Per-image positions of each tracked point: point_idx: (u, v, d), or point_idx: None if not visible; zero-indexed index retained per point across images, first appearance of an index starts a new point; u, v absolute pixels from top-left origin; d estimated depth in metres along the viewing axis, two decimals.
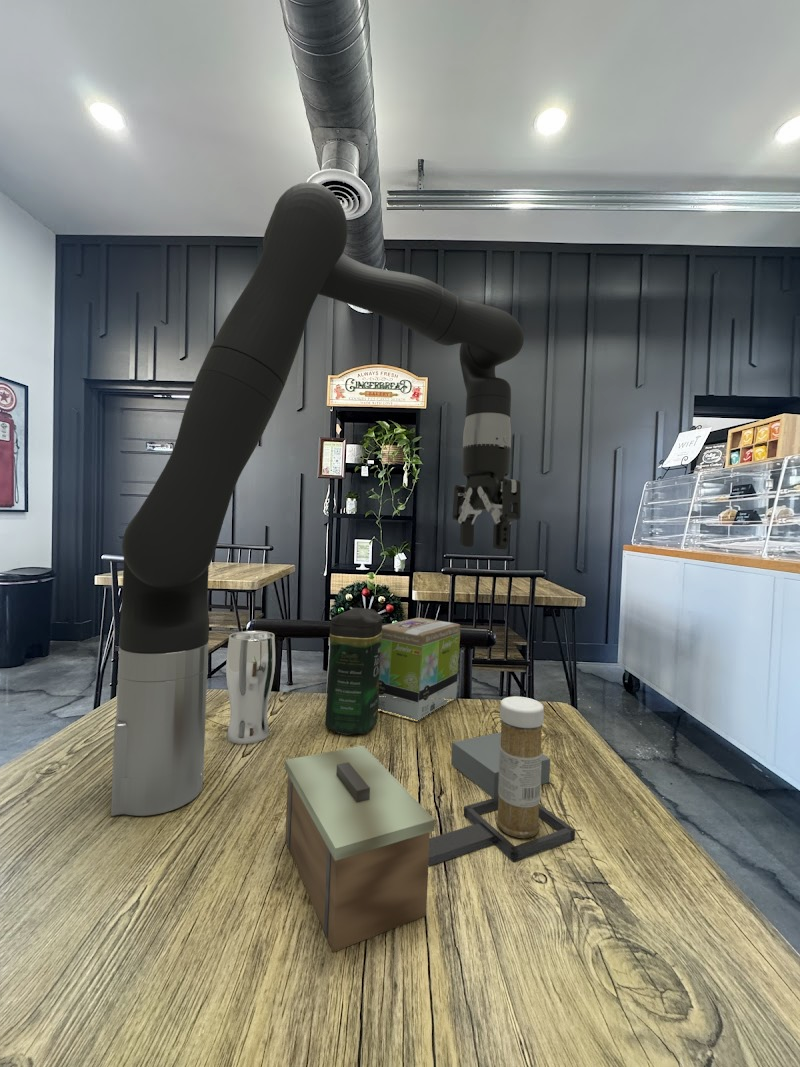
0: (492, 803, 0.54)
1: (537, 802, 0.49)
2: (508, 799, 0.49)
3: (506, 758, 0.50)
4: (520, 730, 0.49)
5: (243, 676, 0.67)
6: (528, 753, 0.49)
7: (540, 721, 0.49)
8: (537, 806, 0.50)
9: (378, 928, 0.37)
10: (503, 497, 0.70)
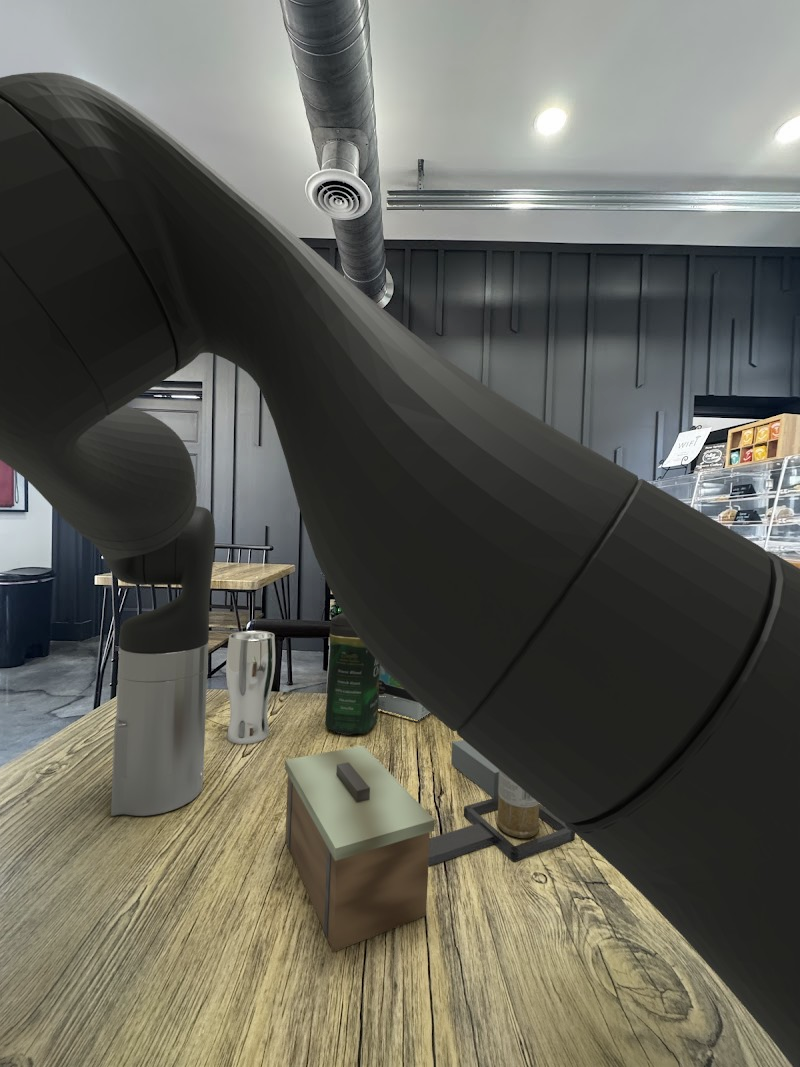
0: (492, 803, 0.54)
1: (537, 802, 0.49)
2: (508, 799, 0.49)
3: None
4: None
5: (243, 676, 0.67)
6: None
7: None
8: (537, 806, 0.50)
9: (378, 928, 0.37)
10: None
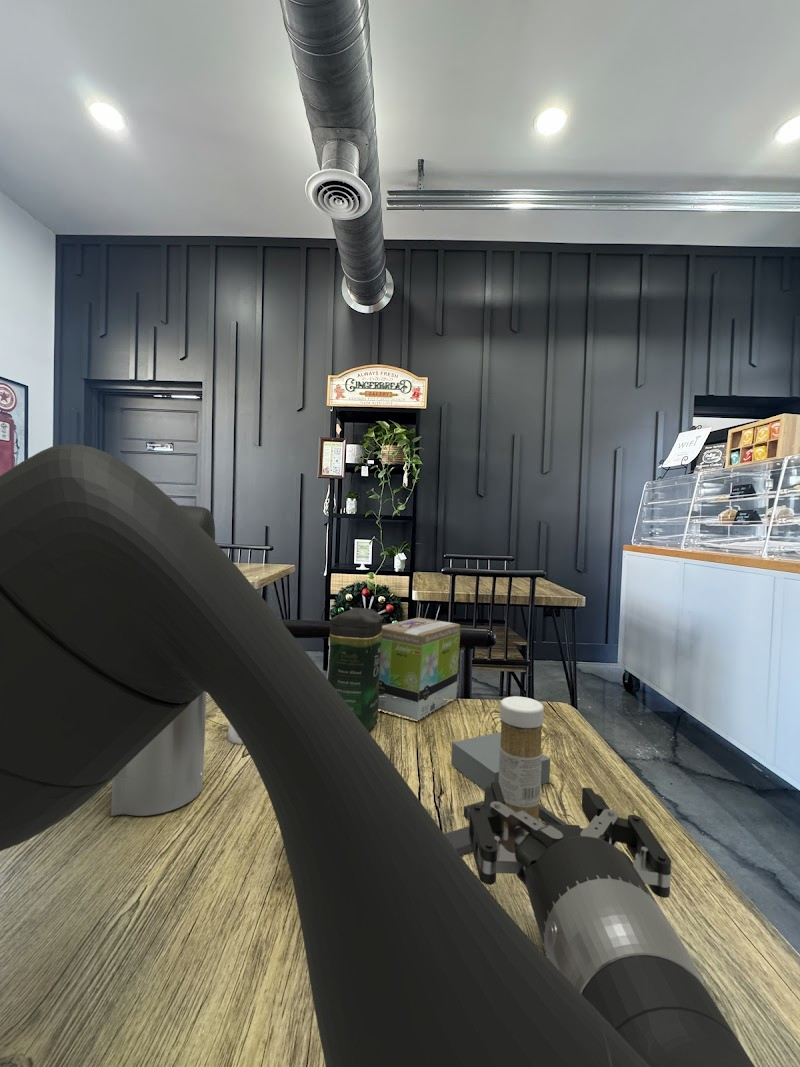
0: None
1: (537, 802, 0.49)
2: (508, 799, 0.49)
3: (506, 758, 0.50)
4: (520, 730, 0.49)
5: None
6: (528, 753, 0.49)
7: (540, 721, 0.49)
8: (537, 806, 0.50)
9: None
10: None
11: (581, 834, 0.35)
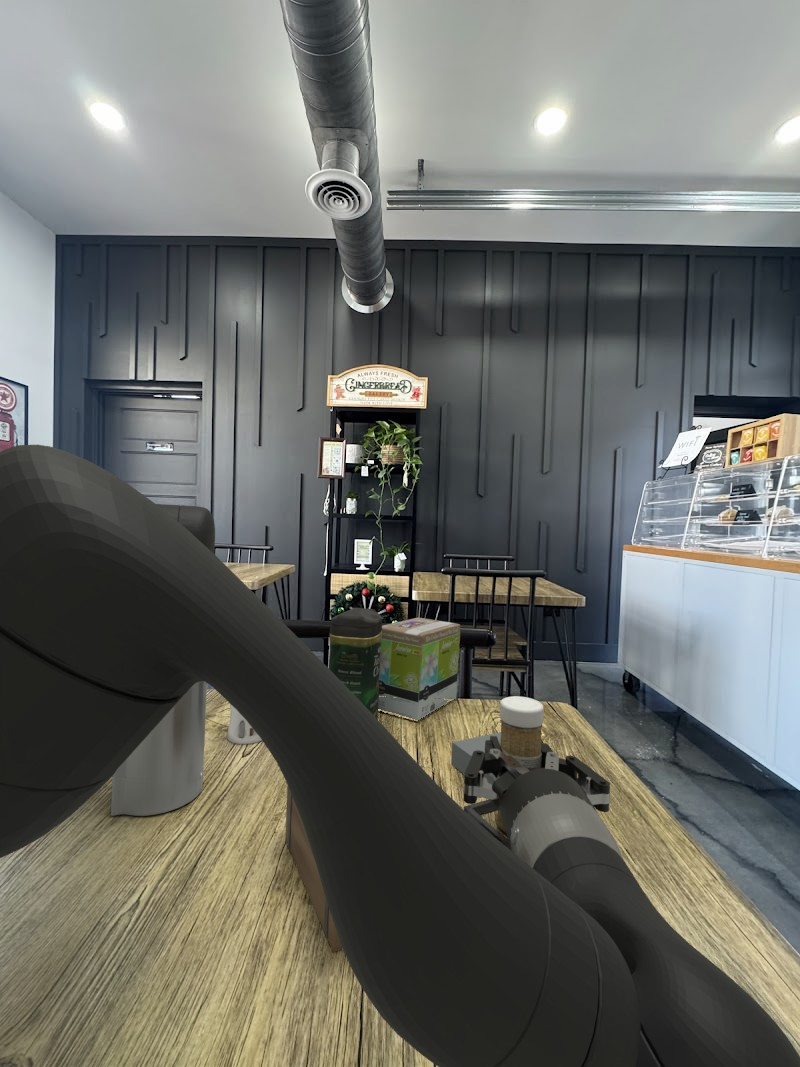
0: (492, 803, 0.54)
1: None
2: None
3: None
4: (520, 730, 0.49)
5: None
6: (528, 753, 0.49)
7: (540, 721, 0.49)
8: None
9: None
10: None
11: None
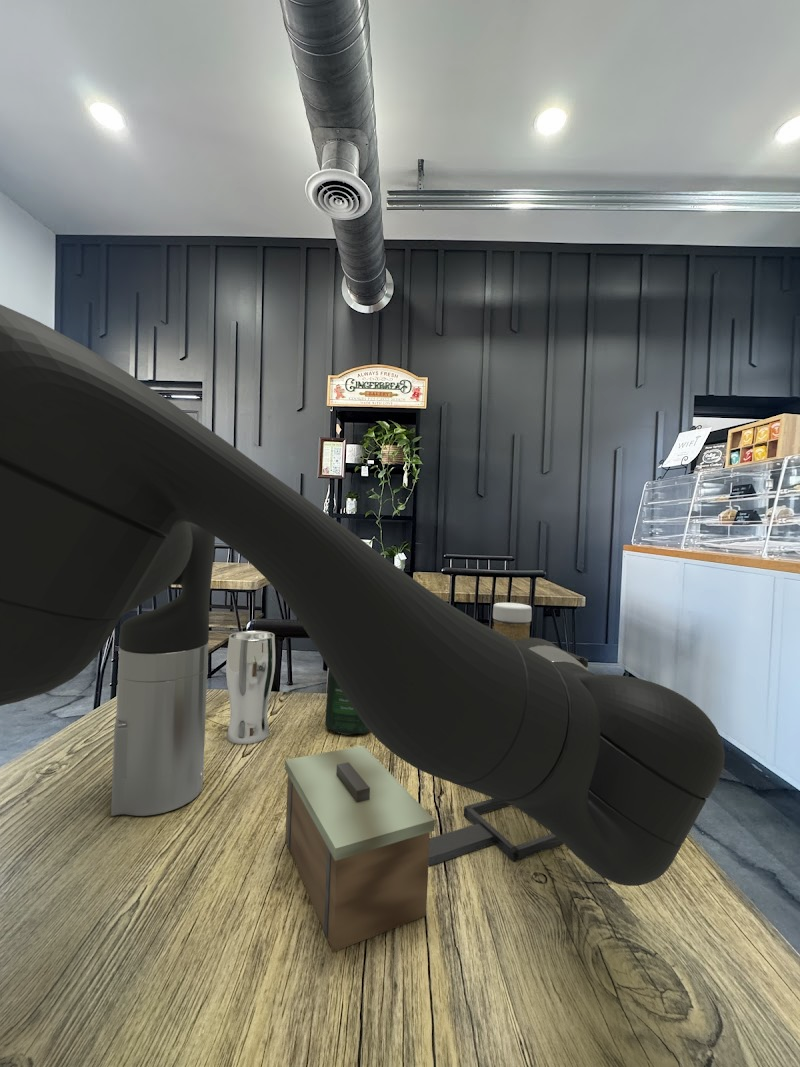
0: (492, 803, 0.54)
1: None
2: None
3: None
4: (511, 625, 0.55)
5: (243, 676, 0.67)
6: None
7: (528, 618, 0.56)
8: None
9: (378, 928, 0.37)
10: None
11: None
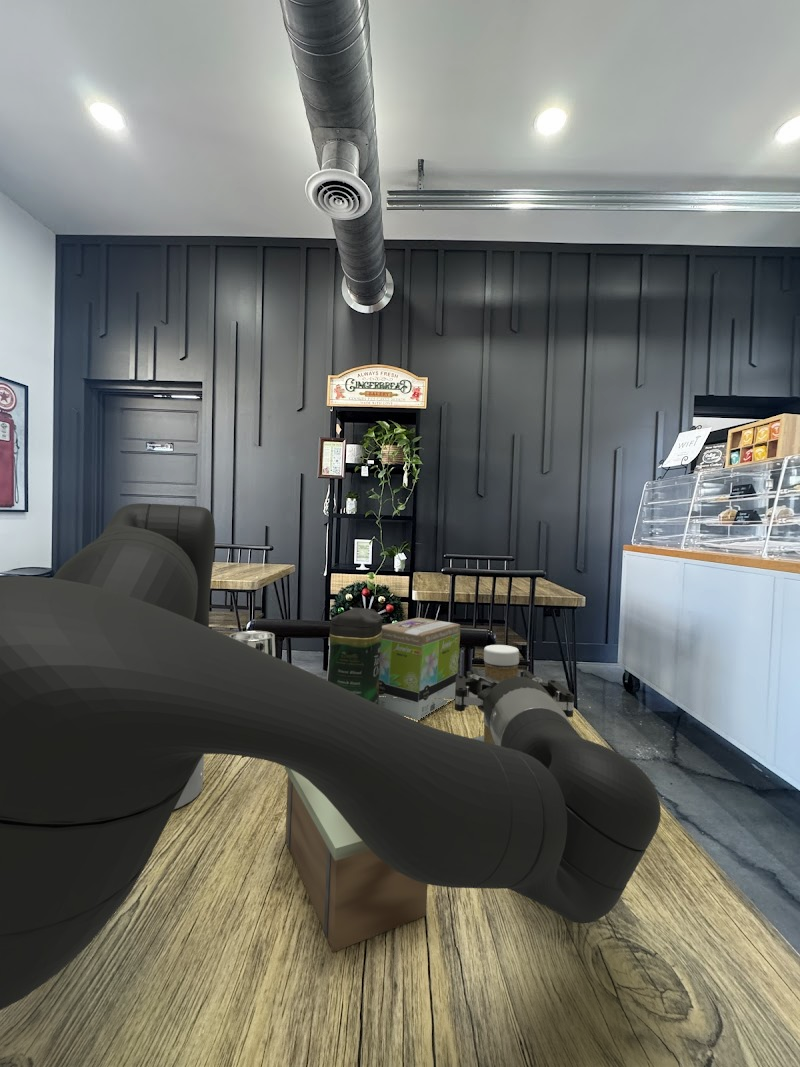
0: None
1: None
2: None
3: None
4: (499, 668, 0.61)
5: None
6: None
7: (515, 661, 0.61)
8: None
9: (378, 928, 0.37)
10: None
11: None
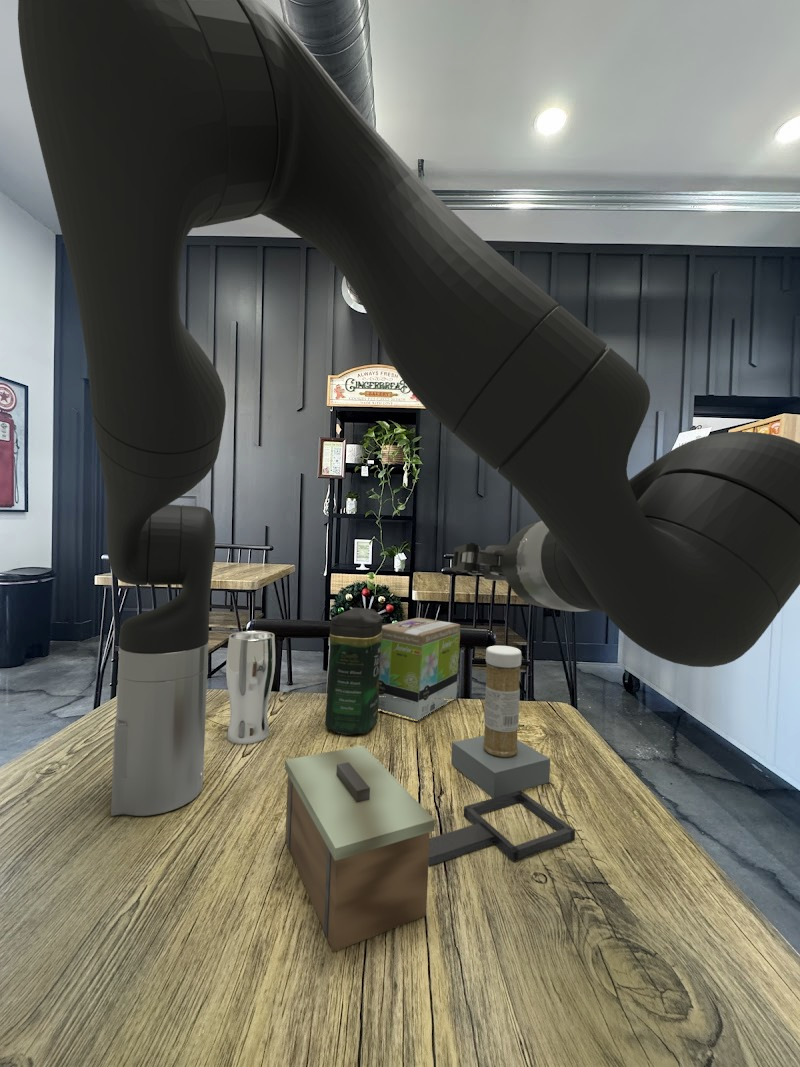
0: (492, 803, 0.54)
1: (515, 728, 0.61)
2: (492, 726, 0.61)
3: (490, 693, 0.61)
4: (501, 669, 0.60)
5: (243, 676, 0.67)
6: (507, 688, 0.60)
7: (518, 662, 0.61)
8: (515, 732, 0.61)
9: (378, 928, 0.37)
10: None
11: None
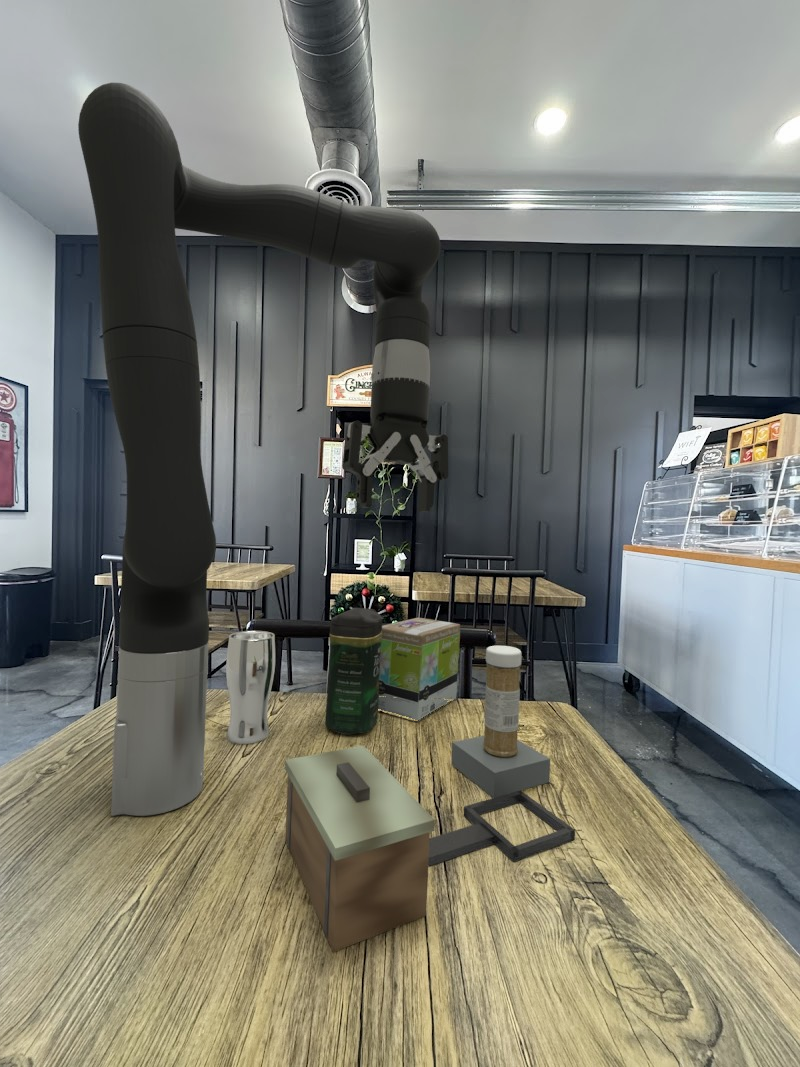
0: (492, 803, 0.54)
1: (515, 728, 0.61)
2: (492, 726, 0.61)
3: (490, 693, 0.61)
4: (501, 669, 0.60)
5: (243, 676, 0.67)
6: (508, 687, 0.60)
7: (518, 662, 0.61)
8: (515, 732, 0.61)
9: (378, 928, 0.37)
10: (442, 454, 0.63)
11: None
